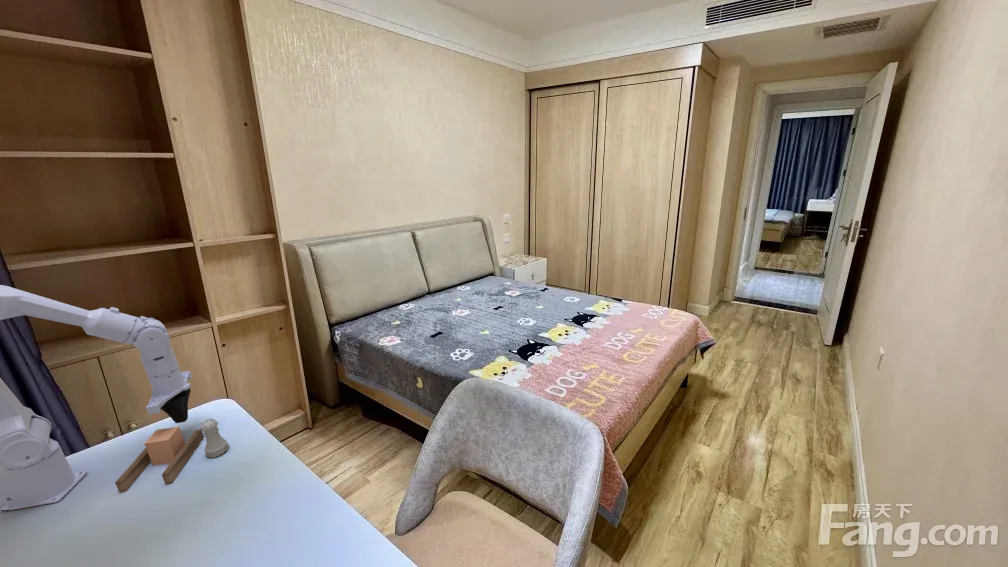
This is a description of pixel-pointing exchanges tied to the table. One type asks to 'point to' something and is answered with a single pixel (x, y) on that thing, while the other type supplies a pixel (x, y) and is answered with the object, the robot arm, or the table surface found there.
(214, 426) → the rook chess piece
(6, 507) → the robot arm
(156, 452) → the terracotta block
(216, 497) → the table surface
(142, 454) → the walnut channel
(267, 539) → the table surface
